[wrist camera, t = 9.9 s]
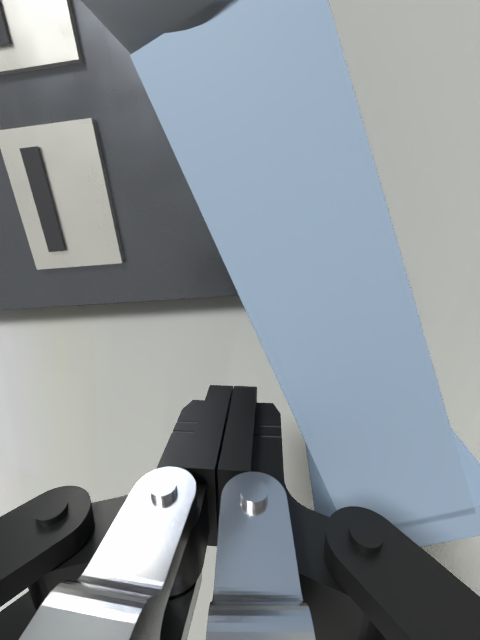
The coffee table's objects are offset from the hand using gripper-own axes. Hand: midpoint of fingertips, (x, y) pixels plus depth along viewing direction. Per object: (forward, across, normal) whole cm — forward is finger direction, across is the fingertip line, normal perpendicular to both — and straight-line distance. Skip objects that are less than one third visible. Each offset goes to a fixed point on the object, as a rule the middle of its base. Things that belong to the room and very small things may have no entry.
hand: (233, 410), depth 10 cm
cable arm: (+3, -2, -5) cm, 7 cm away
